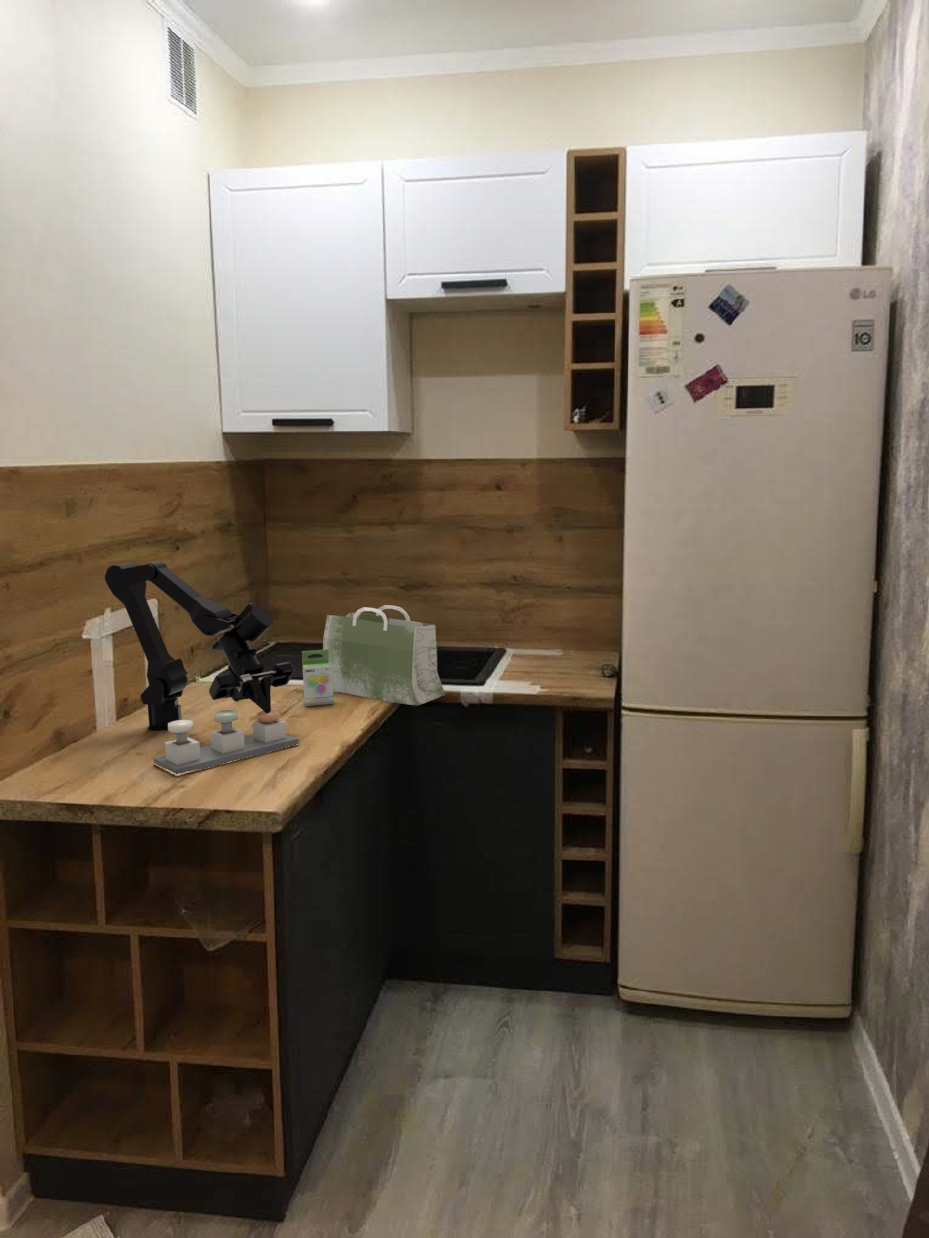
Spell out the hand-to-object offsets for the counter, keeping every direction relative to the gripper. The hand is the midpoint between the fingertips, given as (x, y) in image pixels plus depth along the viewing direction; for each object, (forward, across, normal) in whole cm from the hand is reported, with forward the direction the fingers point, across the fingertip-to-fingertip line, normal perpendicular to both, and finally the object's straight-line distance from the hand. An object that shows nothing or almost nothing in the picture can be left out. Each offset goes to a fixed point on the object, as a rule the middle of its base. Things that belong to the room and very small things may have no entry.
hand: (268, 711), depth 202 cm
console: (+5, +10, -5) cm, 12 cm away
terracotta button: (+3, 0, -3) cm, 5 cm away
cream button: (+2, +20, -2) cm, 20 cm away
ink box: (-10, -26, -20) cm, 35 cm away
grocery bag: (-8, -44, -18) cm, 49 cm away
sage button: (+2, +10, -2) cm, 10 cm away
